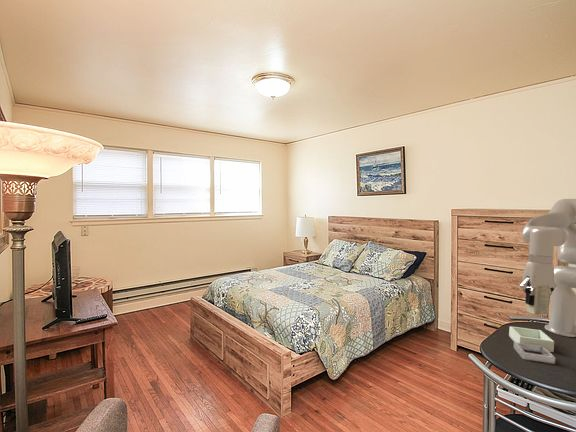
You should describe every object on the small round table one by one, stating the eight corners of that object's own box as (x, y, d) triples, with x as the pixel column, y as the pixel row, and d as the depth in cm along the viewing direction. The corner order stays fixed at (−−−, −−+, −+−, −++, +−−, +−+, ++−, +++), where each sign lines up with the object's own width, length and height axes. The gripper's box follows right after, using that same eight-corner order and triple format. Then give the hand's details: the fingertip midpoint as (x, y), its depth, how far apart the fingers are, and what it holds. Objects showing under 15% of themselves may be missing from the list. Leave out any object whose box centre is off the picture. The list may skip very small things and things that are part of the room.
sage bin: (539, 340, 142) (540, 330, 142) (553, 352, 131) (554, 341, 131) (508, 335, 146) (509, 326, 146) (519, 347, 134) (520, 336, 134)
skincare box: (538, 310, 129) (540, 281, 129) (548, 314, 125) (551, 284, 124) (524, 311, 129) (526, 281, 128) (534, 315, 124) (536, 284, 123)
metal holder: (542, 351, 131) (542, 345, 131) (554, 364, 121) (555, 357, 121) (513, 347, 134) (513, 341, 134) (523, 359, 124) (523, 353, 124)
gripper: (550, 257, 130) (547, 300, 131) (512, 257, 128) (509, 301, 129) (569, 261, 123) (565, 307, 124) (529, 261, 120) (526, 308, 122)
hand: (537, 303), depth 126 cm, fingers closed on skincare box, 6 cm apart
